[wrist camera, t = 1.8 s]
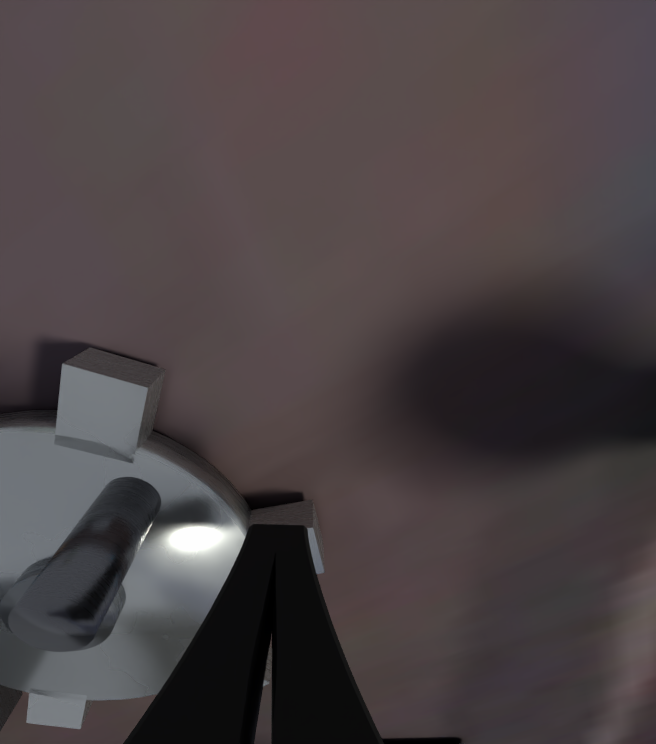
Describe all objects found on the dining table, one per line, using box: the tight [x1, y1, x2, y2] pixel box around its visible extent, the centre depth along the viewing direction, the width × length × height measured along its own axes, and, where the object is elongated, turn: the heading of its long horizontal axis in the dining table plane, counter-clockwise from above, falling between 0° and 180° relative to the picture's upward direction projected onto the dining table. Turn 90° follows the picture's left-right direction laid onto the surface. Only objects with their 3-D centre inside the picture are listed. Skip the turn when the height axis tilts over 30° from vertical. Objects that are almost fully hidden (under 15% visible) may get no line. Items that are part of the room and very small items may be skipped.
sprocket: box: [0, 347, 325, 729], centre depth 11 cm, size 16×16×5 cm
